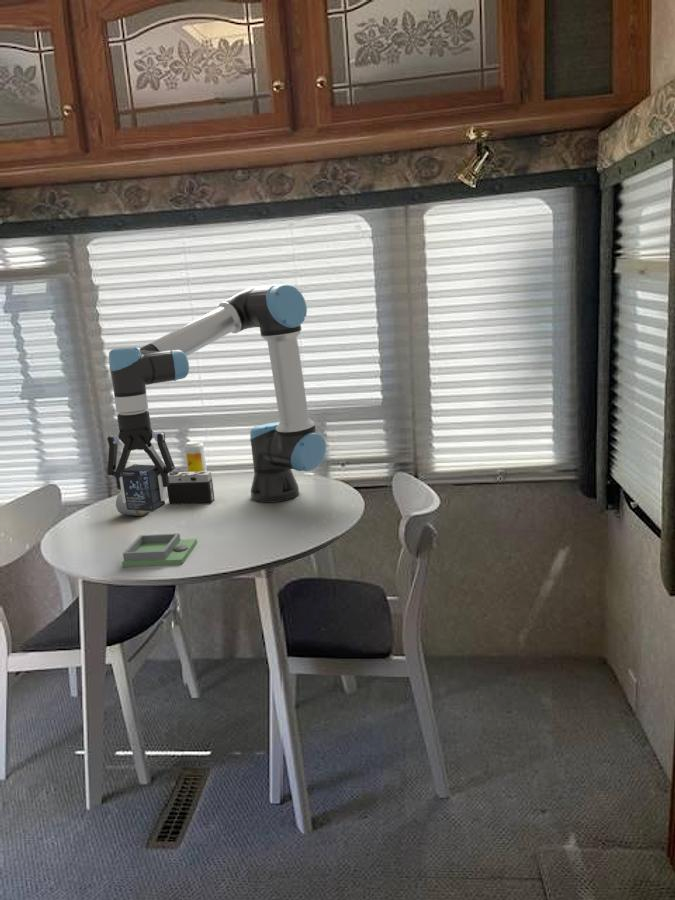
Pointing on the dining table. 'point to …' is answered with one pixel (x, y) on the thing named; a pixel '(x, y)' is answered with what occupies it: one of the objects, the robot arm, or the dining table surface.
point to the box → (142, 487)
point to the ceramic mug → (123, 508)
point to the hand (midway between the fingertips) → (145, 500)
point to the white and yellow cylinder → (195, 456)
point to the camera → (190, 488)
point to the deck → (158, 550)
